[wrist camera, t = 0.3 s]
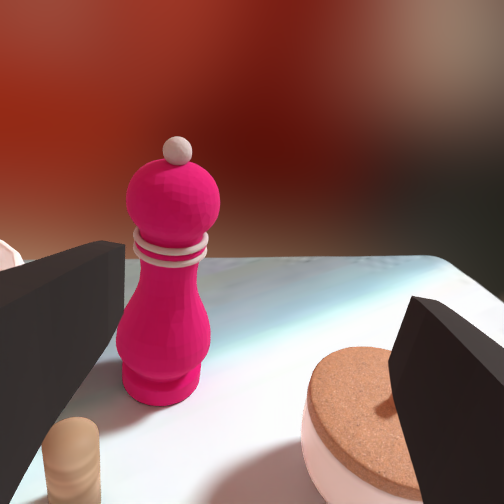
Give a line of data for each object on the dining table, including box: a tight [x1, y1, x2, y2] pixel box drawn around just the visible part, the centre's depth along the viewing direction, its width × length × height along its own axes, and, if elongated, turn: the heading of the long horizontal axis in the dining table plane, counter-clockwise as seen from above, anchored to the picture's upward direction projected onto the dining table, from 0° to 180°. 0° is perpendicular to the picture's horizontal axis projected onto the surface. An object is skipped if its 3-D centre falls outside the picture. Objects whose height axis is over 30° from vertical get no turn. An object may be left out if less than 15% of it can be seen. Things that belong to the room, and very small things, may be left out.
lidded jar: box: [301, 347, 423, 504], centre depth 27 cm, size 11×11×9 cm
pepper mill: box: [116, 137, 220, 406], centre depth 30 cm, size 7×7×20 cm
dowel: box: [42, 417, 101, 504], centre depth 23 cm, size 3×3×6 cm
